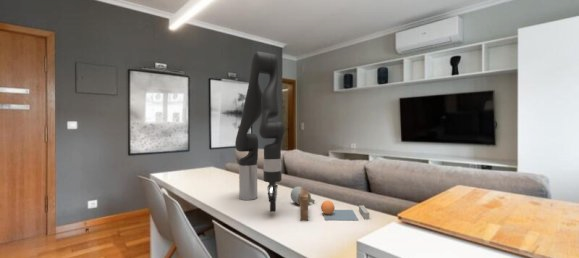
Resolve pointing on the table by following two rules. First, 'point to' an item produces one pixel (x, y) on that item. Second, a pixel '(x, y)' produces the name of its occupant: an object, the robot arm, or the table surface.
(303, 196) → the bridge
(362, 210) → the stopper
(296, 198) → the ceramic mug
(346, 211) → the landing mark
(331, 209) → the ball
